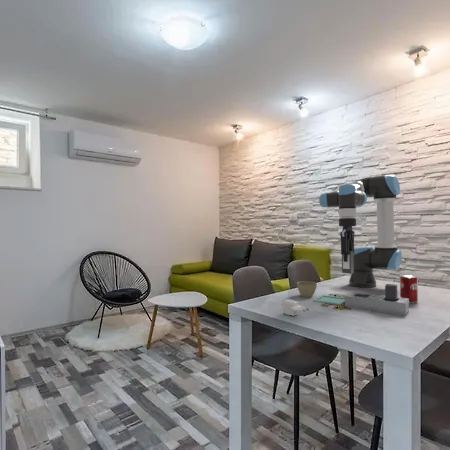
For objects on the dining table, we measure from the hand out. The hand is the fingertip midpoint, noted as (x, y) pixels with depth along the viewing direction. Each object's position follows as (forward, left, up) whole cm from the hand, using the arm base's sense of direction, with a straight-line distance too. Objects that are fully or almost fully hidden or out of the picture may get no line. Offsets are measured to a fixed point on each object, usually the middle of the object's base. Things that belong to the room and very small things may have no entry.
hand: (347, 268), depth 148 cm
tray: (-2, -9, -17) cm, 19 cm away
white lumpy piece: (+31, -13, -17) cm, 37 cm away
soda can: (-21, +22, -17) cm, 35 cm away
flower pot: (-4, -22, -17) cm, 28 cm away
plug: (0, 0, -2) cm, 2 cm away
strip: (-4, +12, -17) cm, 21 cm away
